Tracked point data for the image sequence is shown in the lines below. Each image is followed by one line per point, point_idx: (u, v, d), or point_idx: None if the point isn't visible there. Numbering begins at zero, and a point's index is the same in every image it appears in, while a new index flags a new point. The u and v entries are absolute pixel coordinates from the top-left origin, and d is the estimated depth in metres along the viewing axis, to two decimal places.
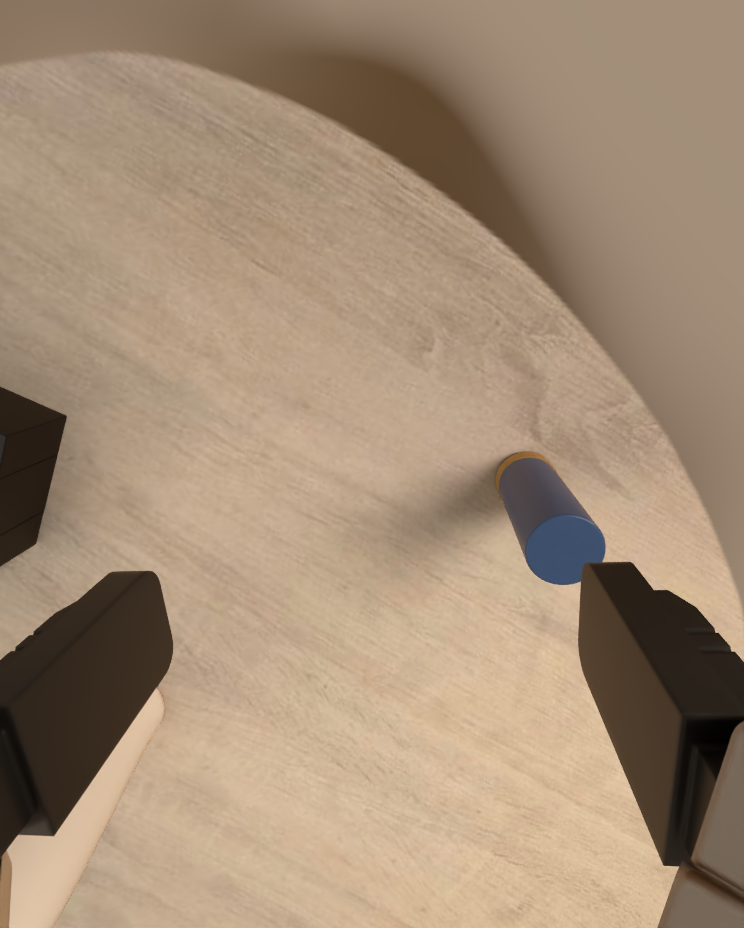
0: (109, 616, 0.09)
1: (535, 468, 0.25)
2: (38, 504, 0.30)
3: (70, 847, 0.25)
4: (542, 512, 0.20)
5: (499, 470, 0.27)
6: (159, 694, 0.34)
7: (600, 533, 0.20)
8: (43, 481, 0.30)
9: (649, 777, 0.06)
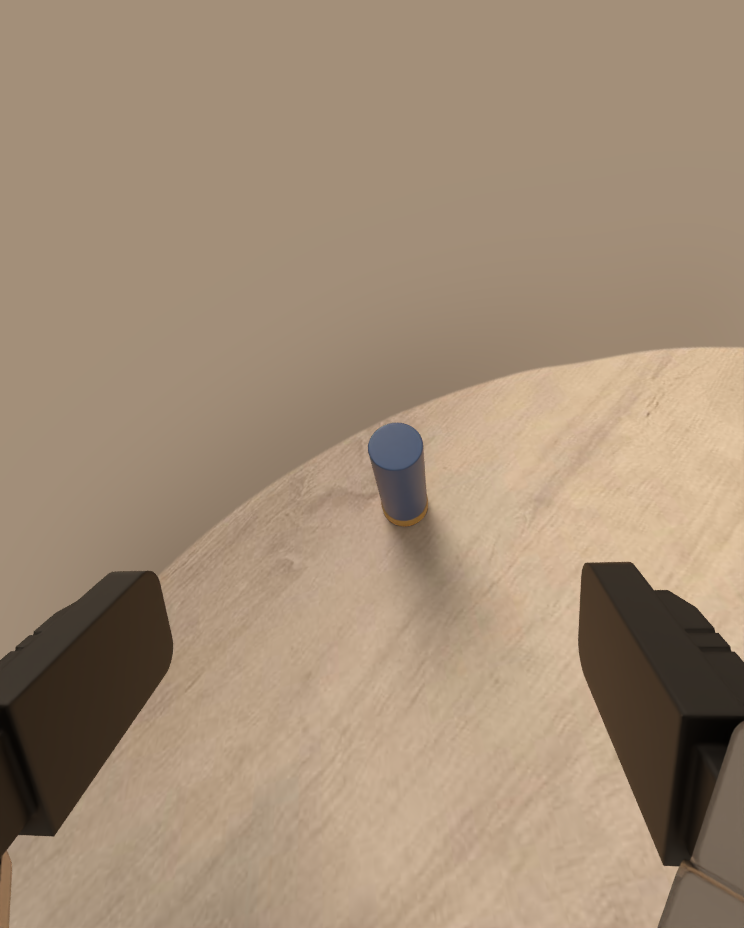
0: (109, 616, 0.09)
1: None
2: None
3: None
4: (371, 462, 0.29)
5: (392, 521, 0.35)
6: None
7: (385, 425, 0.29)
8: None
9: (649, 777, 0.06)
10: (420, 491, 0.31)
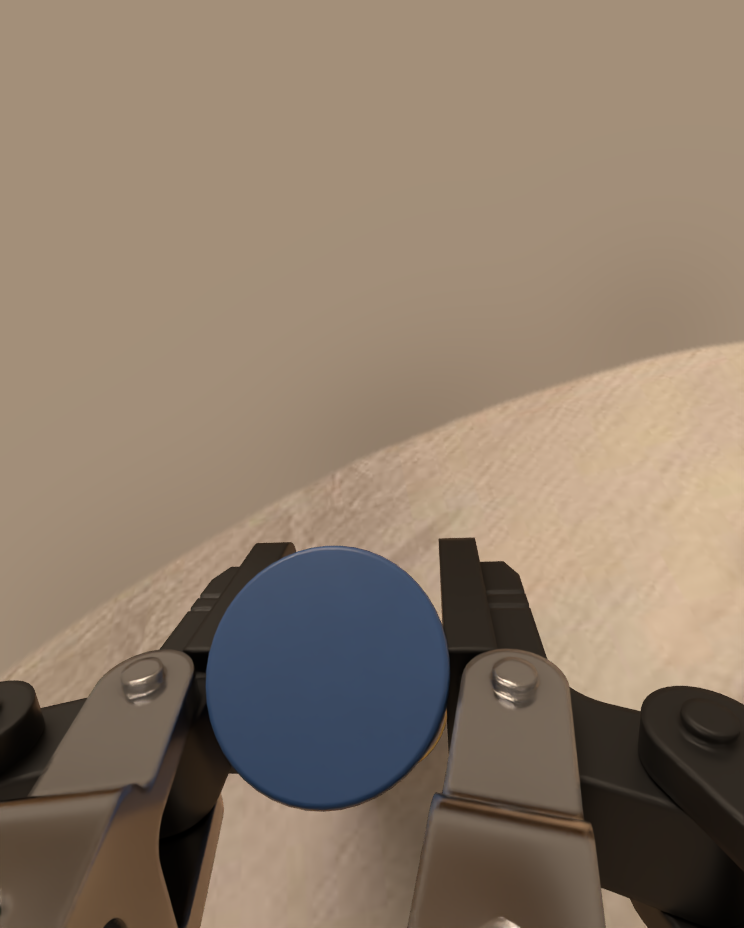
0: None
1: None
2: None
3: None
4: None
5: None
6: None
7: (290, 556, 0.07)
8: None
9: None
10: None
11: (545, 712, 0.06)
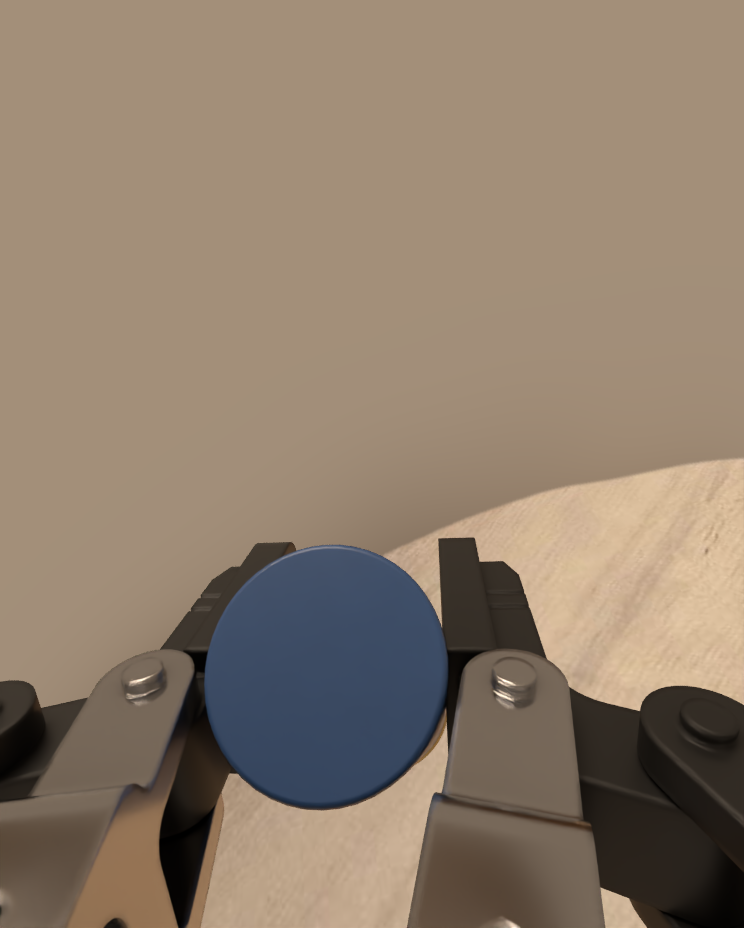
0: None
1: None
2: None
3: None
4: None
5: None
6: None
7: (289, 555, 0.07)
8: None
9: (446, 709, 0.08)
10: None
11: (545, 712, 0.06)
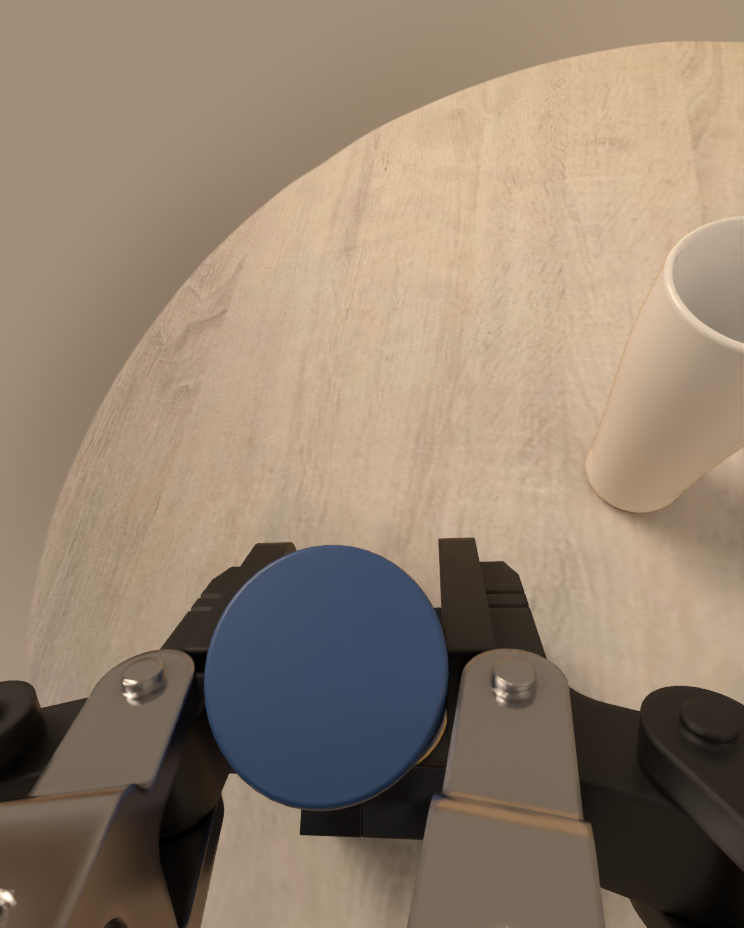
0: None
1: None
2: None
3: None
4: None
5: None
6: None
7: (289, 555, 0.07)
8: None
9: (446, 709, 0.08)
10: None
11: (545, 712, 0.06)
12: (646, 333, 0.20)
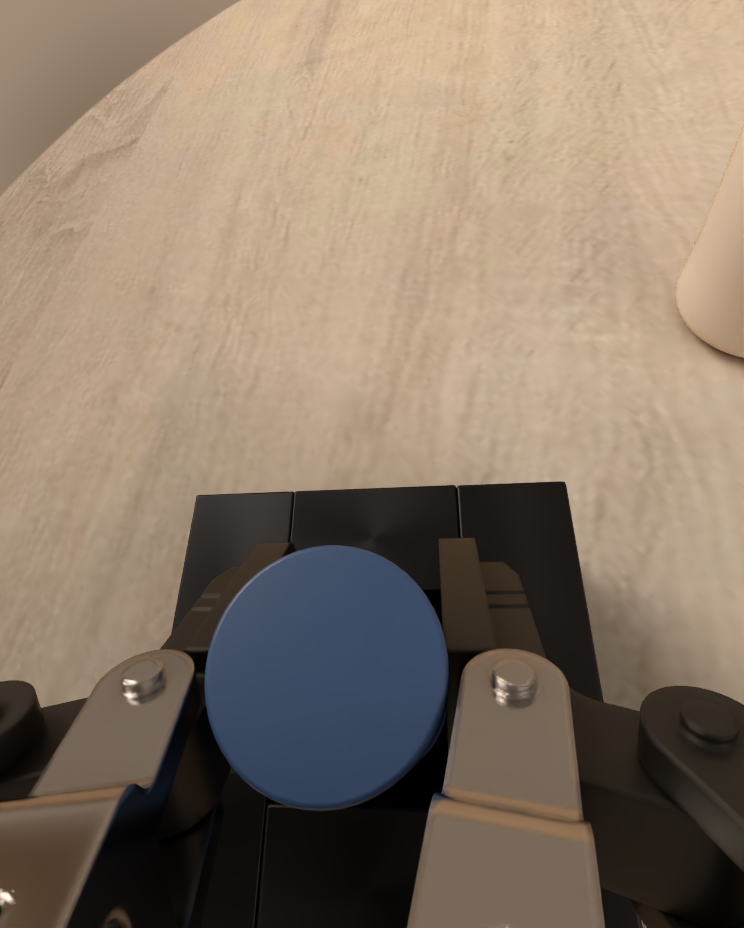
0: None
1: None
2: None
3: None
4: None
5: None
6: None
7: (289, 556, 0.07)
8: None
9: (446, 709, 0.08)
10: (432, 744, 0.09)
11: (544, 712, 0.06)
12: None
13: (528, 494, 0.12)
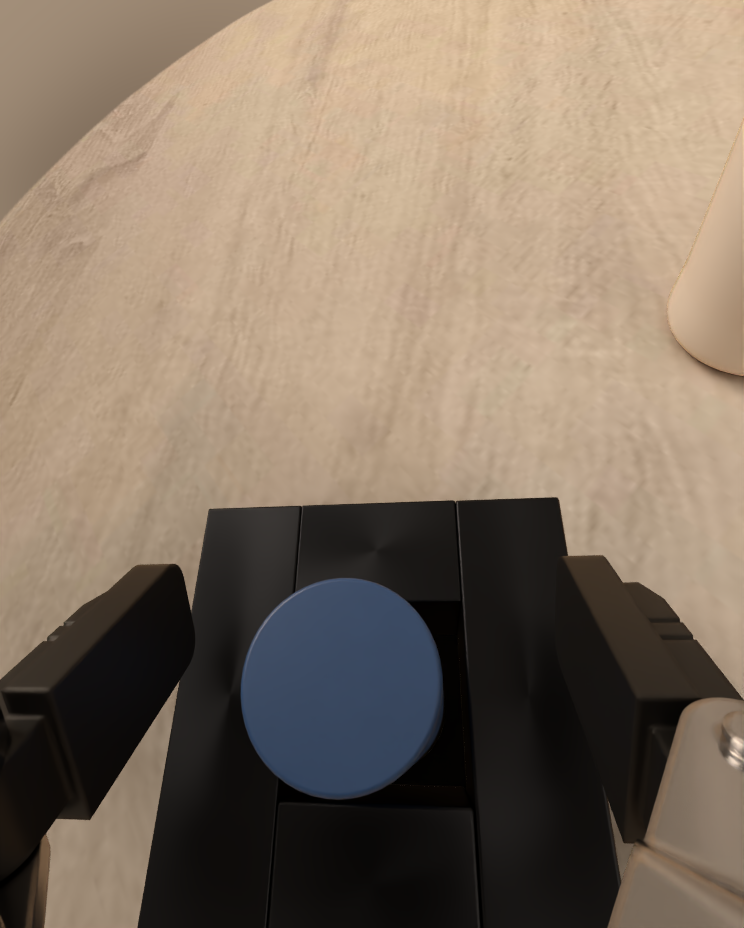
0: (138, 607, 0.09)
1: None
2: None
3: None
4: None
5: None
6: None
7: (309, 587, 0.08)
8: None
9: (612, 759, 0.07)
10: (430, 744, 0.11)
11: None
12: None
13: (523, 509, 0.13)
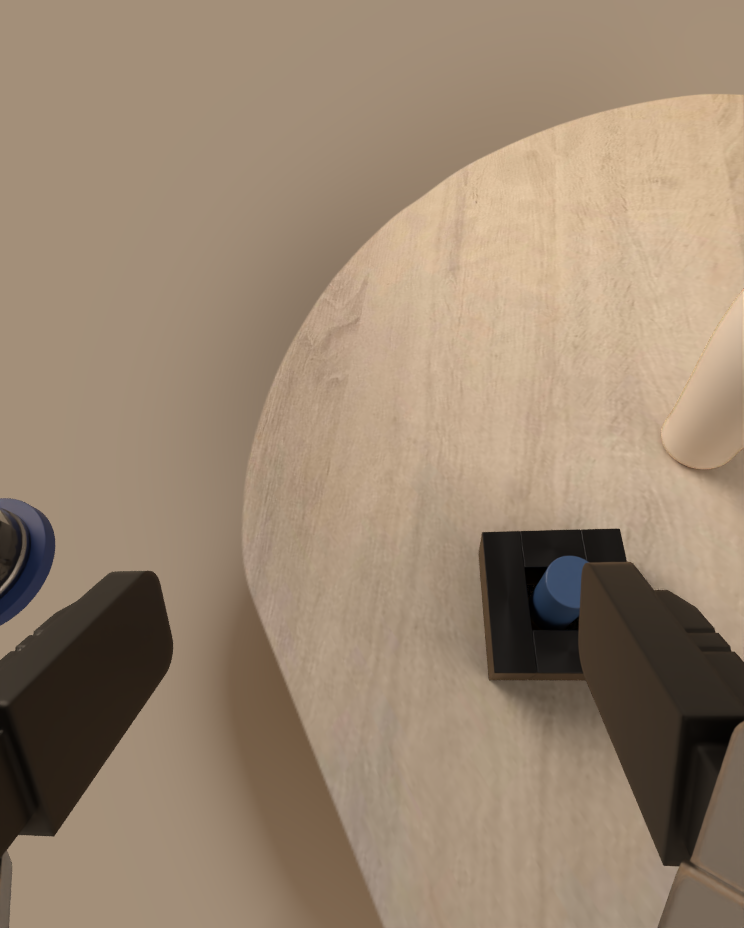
0: (109, 616, 0.09)
1: (530, 601, 0.34)
2: None
3: None
4: (546, 594, 0.30)
5: None
6: None
7: (559, 558, 0.30)
8: None
9: (649, 777, 0.06)
10: None
11: None
12: (728, 337, 0.30)
13: (607, 533, 0.34)
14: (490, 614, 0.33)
